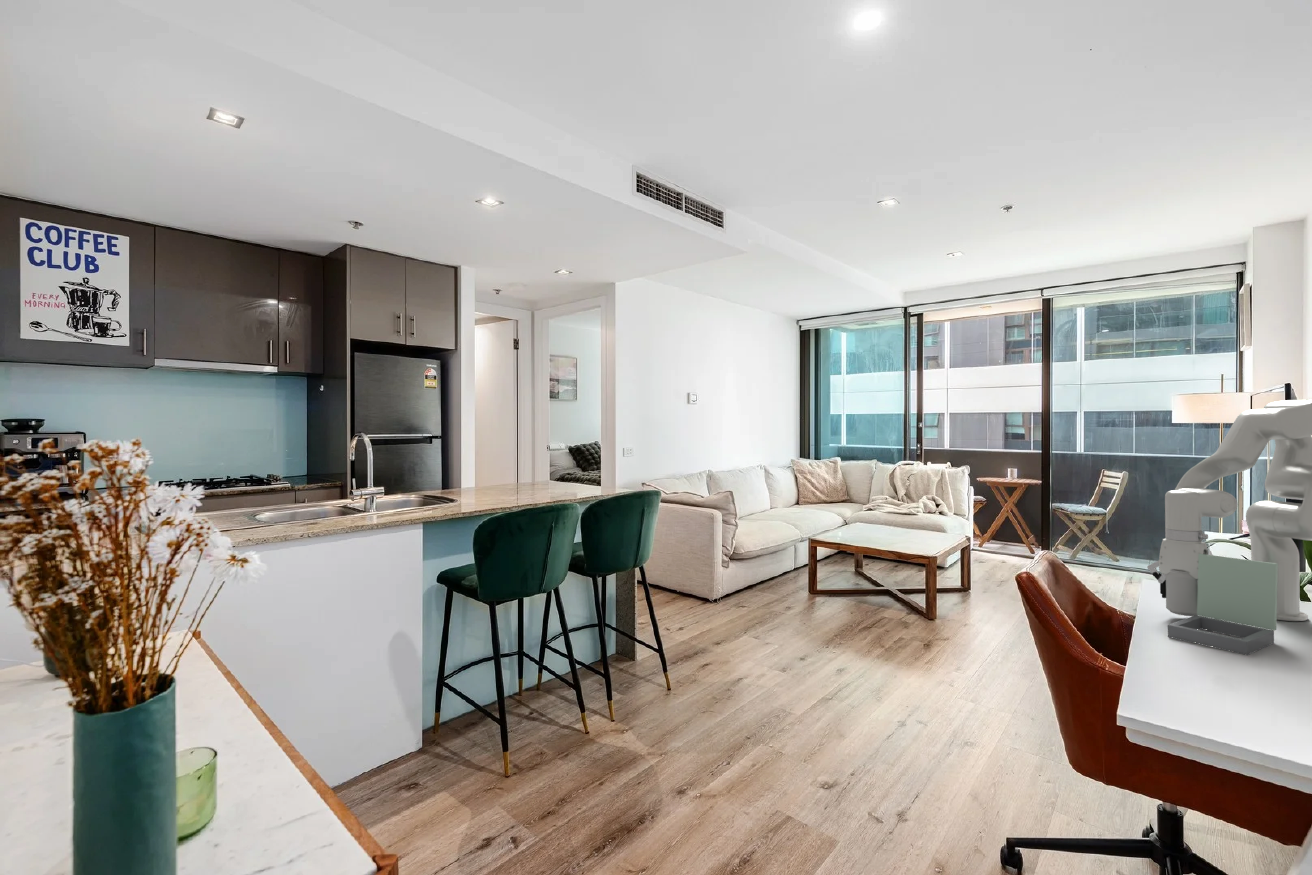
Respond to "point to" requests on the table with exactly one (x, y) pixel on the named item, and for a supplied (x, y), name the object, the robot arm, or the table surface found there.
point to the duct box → (1248, 644)
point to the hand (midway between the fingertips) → (1183, 600)
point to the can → (1181, 593)
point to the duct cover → (1237, 590)
